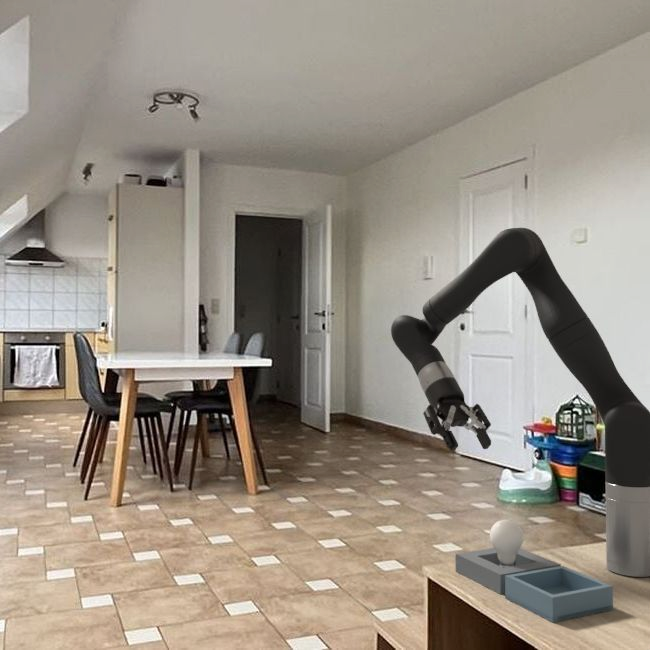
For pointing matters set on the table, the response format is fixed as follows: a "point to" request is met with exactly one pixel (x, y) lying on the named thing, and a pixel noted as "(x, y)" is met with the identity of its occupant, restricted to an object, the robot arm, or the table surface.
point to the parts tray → (558, 593)
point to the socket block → (497, 567)
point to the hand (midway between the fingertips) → (471, 447)
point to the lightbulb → (506, 541)
